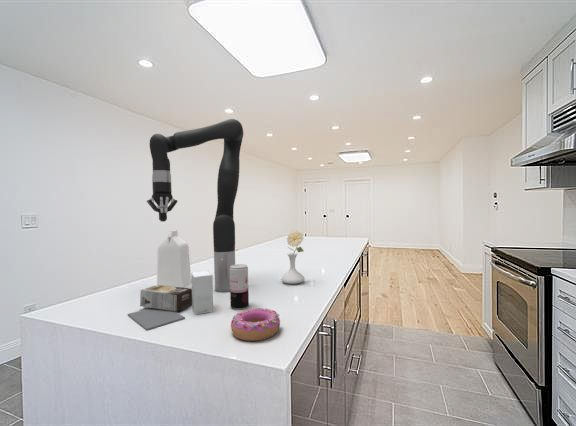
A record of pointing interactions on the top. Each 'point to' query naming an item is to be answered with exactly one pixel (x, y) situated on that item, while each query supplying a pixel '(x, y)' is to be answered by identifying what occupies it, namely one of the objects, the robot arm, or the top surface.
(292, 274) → the flower in vase
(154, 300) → the coffee box
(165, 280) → the milk
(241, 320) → the donut
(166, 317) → the mat
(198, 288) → the small box
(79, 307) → the top surface
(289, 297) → the top surface
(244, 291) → the beverage can
